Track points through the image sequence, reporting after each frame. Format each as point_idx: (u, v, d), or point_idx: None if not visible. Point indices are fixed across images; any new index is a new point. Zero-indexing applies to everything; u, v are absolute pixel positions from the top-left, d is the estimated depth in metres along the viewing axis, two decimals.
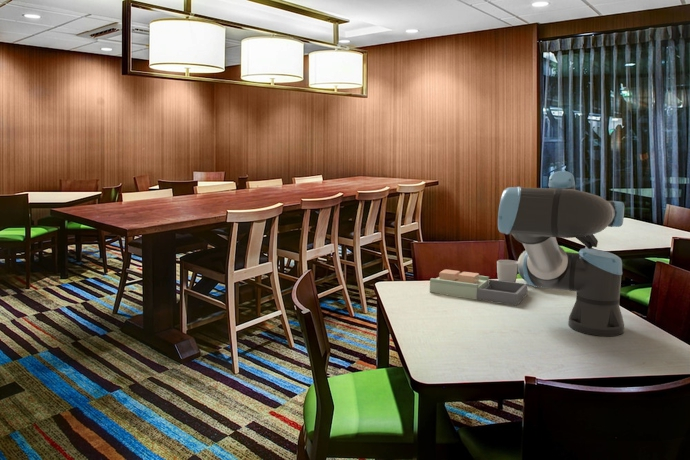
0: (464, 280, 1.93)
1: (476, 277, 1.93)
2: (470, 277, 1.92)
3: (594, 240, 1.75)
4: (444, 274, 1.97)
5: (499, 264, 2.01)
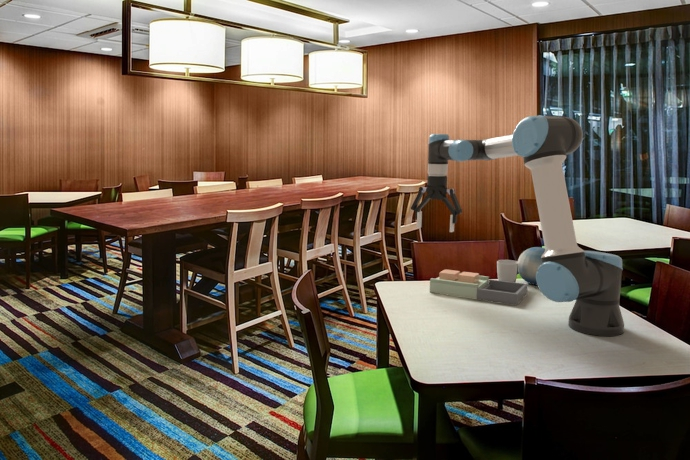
0: (464, 280, 1.93)
1: (476, 277, 1.93)
2: (470, 277, 1.92)
3: (458, 207, 1.95)
4: (444, 274, 1.97)
5: (499, 264, 2.01)
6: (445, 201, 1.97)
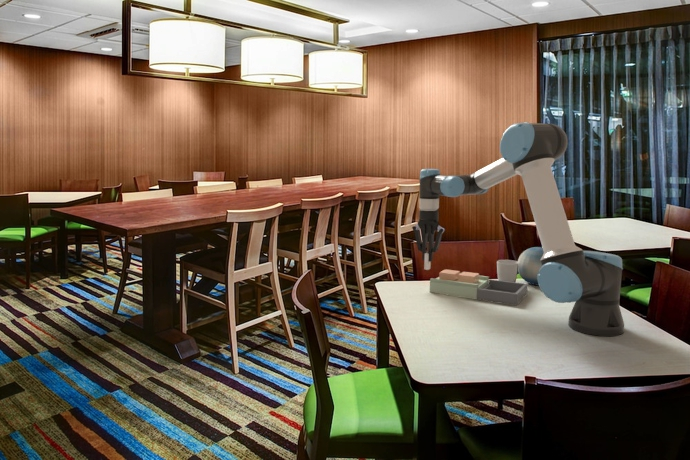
0: (464, 280, 1.93)
1: (476, 277, 1.93)
2: (470, 277, 1.92)
3: (437, 246, 2.00)
4: (444, 274, 1.97)
5: (499, 264, 2.01)
6: (430, 237, 2.00)
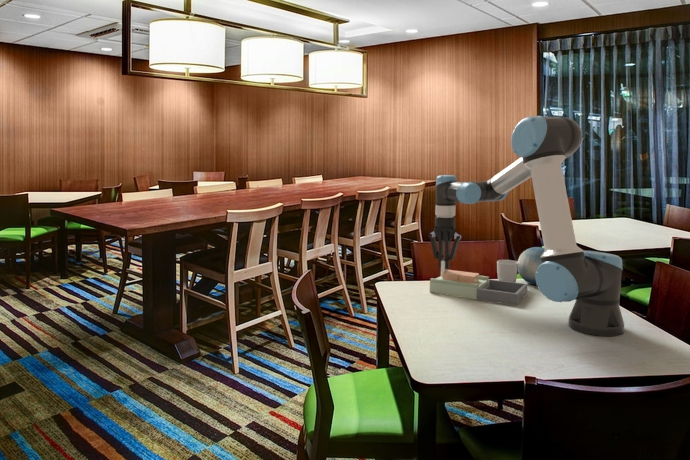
0: (464, 280, 1.93)
1: (476, 277, 1.93)
2: (470, 277, 1.92)
3: (454, 254, 1.97)
4: (448, 274, 1.96)
5: (499, 264, 2.01)
6: (446, 245, 1.97)
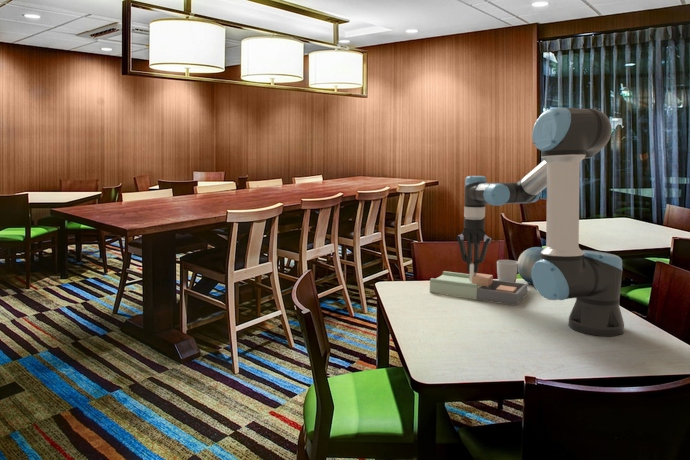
0: None
1: None
2: None
3: (483, 257, 1.91)
4: (477, 278, 1.91)
5: (499, 264, 2.01)
6: (476, 247, 1.91)
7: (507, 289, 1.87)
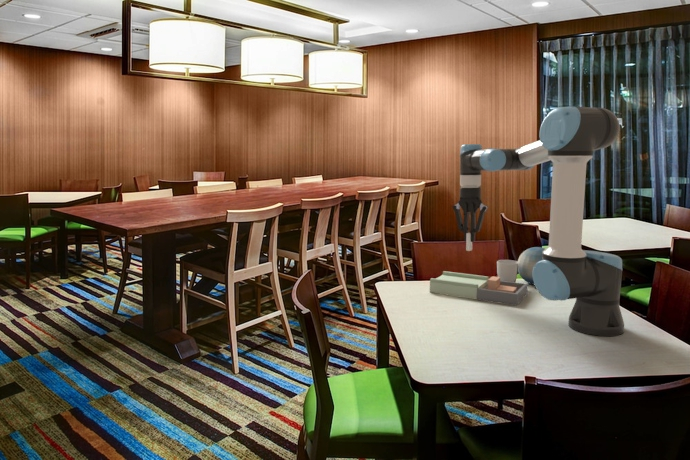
0: None
1: None
2: None
3: (480, 226, 1.90)
4: (494, 286, 1.88)
5: (499, 264, 2.01)
6: (472, 216, 1.90)
7: (507, 289, 1.87)
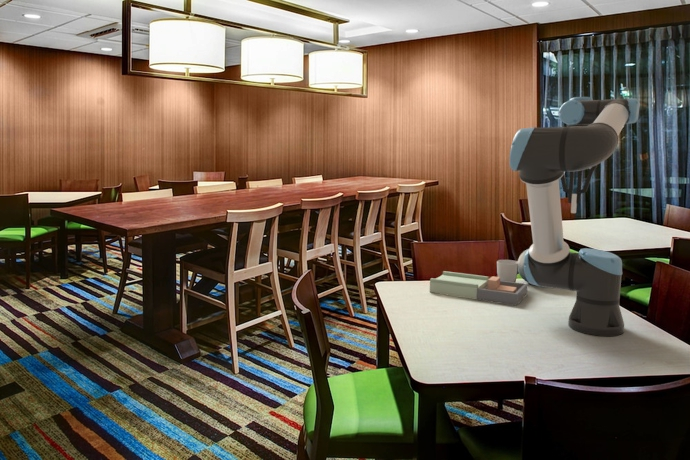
0: None
1: None
2: None
3: None
4: (494, 286, 1.88)
5: (499, 264, 2.01)
6: (580, 175, 1.77)
7: (507, 289, 1.87)
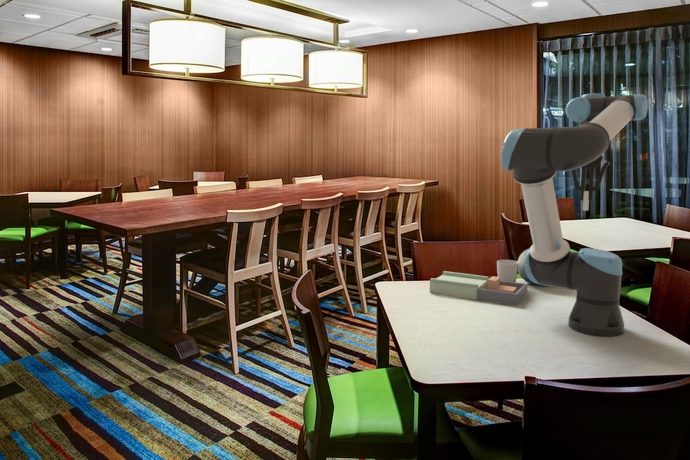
0: None
1: None
2: None
3: (600, 183, 1.76)
4: (494, 286, 1.88)
5: (499, 264, 2.01)
6: (592, 173, 1.76)
7: (507, 289, 1.87)
